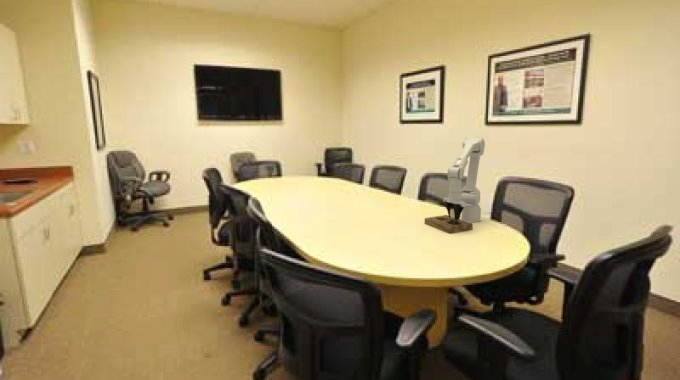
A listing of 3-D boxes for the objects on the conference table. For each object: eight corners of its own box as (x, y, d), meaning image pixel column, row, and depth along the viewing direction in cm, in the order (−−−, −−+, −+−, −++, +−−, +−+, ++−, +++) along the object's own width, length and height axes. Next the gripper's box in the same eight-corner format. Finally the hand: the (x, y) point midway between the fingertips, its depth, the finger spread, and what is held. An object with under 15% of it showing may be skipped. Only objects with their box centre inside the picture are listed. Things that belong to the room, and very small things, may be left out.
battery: (454, 220, 189) (454, 206, 188) (459, 222, 186) (460, 208, 184) (447, 221, 188) (448, 207, 186) (453, 223, 184) (453, 209, 183)
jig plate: (446, 220, 203) (446, 214, 203) (472, 229, 185) (472, 223, 185) (424, 223, 198) (424, 218, 197) (449, 233, 180) (449, 227, 179)
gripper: (438, 189, 189) (438, 216, 191) (458, 194, 176) (457, 222, 178) (450, 188, 192) (449, 214, 194) (470, 193, 179) (469, 220, 181)
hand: (454, 218), depth 186 cm, fingers closed on battery, 4 cm apart
